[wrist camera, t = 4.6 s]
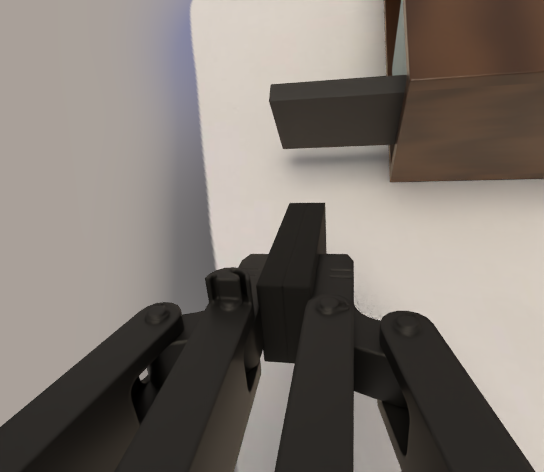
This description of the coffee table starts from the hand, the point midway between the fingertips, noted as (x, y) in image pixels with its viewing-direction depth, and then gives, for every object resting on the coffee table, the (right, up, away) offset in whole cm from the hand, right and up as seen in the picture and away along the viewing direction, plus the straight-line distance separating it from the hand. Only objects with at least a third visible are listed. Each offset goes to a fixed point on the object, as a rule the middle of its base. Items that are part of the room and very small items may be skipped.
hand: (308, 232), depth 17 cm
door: (+4, +9, +12) cm, 15 cm away
